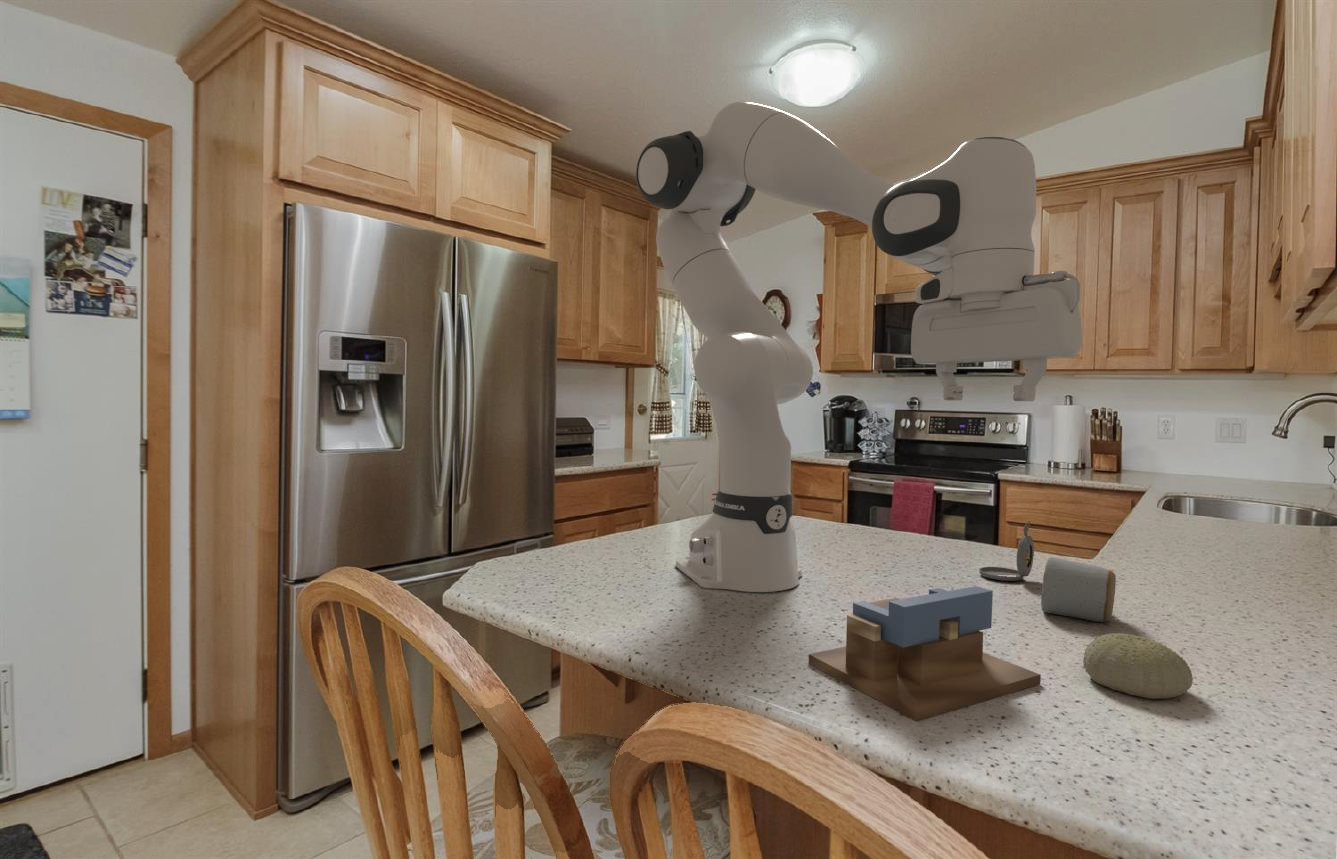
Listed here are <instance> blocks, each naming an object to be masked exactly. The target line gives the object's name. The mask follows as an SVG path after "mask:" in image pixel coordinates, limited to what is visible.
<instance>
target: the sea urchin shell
mask: <svg viewBox="0 0 1337 859" xmlns="http://www.w3.org/2000/svg"><path fill="white" fill-rule="evenodd" d="M1082 659H1083V660H1082V662H1083V664H1082V665H1083V668H1084V669H1085V672H1086V673H1087V674H1088V676H1090V678H1091V679H1092V681H1094V682H1095V683H1097V684H1099V685H1100V686H1101V685H1102V687H1105V686H1106V687H1105V688H1108V689H1112V690H1113V691H1116V690H1117V692H1121V693H1125V694H1128V695H1130V696H1134V697H1135V696H1136V697H1140V698H1143V699H1150V700H1157V699H1164V700H1167V699H1171V698H1176V697H1179V696H1183V694H1185V693H1187V691H1188V690H1189V689H1191V687H1192V685H1193V684H1194V682H1193V681H1194V677H1193V673H1192V670H1191V669H1190V666H1189V665H1188V663H1187V661H1186V660H1185V659H1184V657H1182V656H1180V654H1178V653H1177V652H1176V651H1173V650H1172V648H1169V647H1168V646H1167V645H1164V644H1162V643H1160V642H1158V641H1155V640H1154V639H1150V638H1148V637H1145V636H1140V635H1139V636H1138V635H1135V634H1129V633H1121V632H1120V633H1108V634H1105V635H1104V634H1103V635H1100V636H1098V637H1097V638H1095V639H1094V640H1092V641H1090V642H1089V644H1087V645H1086V648H1085V649H1084V652H1083V658H1082Z"/></svg>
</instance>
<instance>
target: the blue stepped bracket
mask: <svg viewBox="0 0 1337 859" xmlns="http://www.w3.org/2000/svg"><path fill="white" fill-rule="evenodd" d="M993 593H994V592H993V590H991V589H988V588H984V587H981V586H977V585H974V586H970V587H965V588H964V587H963V588H959V589H953V590H951V589H950V590H945V589H942V588H940V587H936V588H931V589H930V588H929V589H928V594H924V595H919V596H912V597H907V598H901V599H900V598H899V599H900V600H895V601H889V610H887V609H884V608H881V607H878V606H876V605H873V604H870V602H869V601H868V602H867V601H865V600H862V601H856V602H855V601H854V602H852V614H854V615H856V616H859V617H861V618H864V619H866V620H868V621H871V622H873V623H876V624H878V625H881V638H882V639H884V640H887V641H889V642H891V643H894V644H896V645H898V646H901V647H903V648H904V647H908V646H913V645H917V644H922V643H926V642H931V641H935V640H939V625H940V620H943V619H949V620H952V621H955V622H958V635H962V634H967V633H971V632H976V631H984V630H989V629H992V626H993V624H992V623H993V622H992V620H993V619H992V618H993V595H994V594H993Z"/></svg>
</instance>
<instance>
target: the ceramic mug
mask: <svg viewBox="0 0 1337 859" xmlns="http://www.w3.org/2000/svg"><path fill="white" fill-rule="evenodd" d="M1042 576H1043V578H1042V585H1041V598H1040V599H1041V600H1040V605H1041V610H1042V612H1044V613H1047V612H1049V613H1048V614H1053V613H1054V614H1053V615H1058V614H1059V616H1063V615H1064V617H1069V616H1070V617H1069V618H1075V619H1082V620H1087V621H1091V622H1099V623H1101V622H1102V623H1103V622H1108V621H1109V620H1111V619H1112V616H1113V610H1114V602H1115V595H1116V585H1117V584H1116V582H1117V580H1116V578H1117V577H1116V573H1114V571H1113V570H1111V569H1108V568H1105V567H1103V566H1099V565H1093V564H1088V563H1082V562H1080V561H1073V560H1068V559H1064V558H1060V557H1054V556H1049V557H1048V559H1047V560H1046V563H1045V566H1044V572H1043V575H1042Z"/></svg>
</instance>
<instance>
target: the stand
mask: <svg viewBox="0 0 1337 859" xmlns="http://www.w3.org/2000/svg"><path fill="white" fill-rule="evenodd" d="M895 600H900V598H896V597H894V598H887V599H884V600H883V599H882V600H878V601H871V602H869V603H870V604H873V605H876V606H878V607H881V608H884V609H887V610H889V601H895ZM845 634H846V635H845V637H846V638H845V640H846V641H845V646H841V647H837V648H832V649H828V650H822V651H818V652H813V653H809V654H808V664H810V665H811V666H813V667H815V668H816V669H819V670H821V671H822V672H823V673H826V674H828V675H830V676H831V677H834V678H836V679H838V680H839V681H841V682H843V683H845V684H847V685H848V686H850V687H852V688H855V689H856V690H857V691H860V692H861V693H863V694H865V695H867V696H870V697H871V698H873V699H875V700H877V701H879V702H880V703H882V704H884V705H885V706H887V707H888V708H889V707H890V708H892V709H893V710H895V711H897V712H899V713H901V714H902V715H904V716H905V717H908V718H910V719H912V720H913V721H916V722H917V721H921V720H925V719H927V718H931V717H933V716H937V715H942V714H945V713H948V712H952V711H955V710H957V709H961V708H965V707H968V706H971V705H974V704H978V703H982V702H985V701H988V700H991V699H995V698H998V697H1001V696H1004V695H1008V694H1011V693H1015V692H1018V691H1021V690H1024V689H1028V688H1032V687H1034V686H1035V687H1036V686H1039V685H1041V681H1042V680H1041V678H1042V674H1040V673H1038V672H1036V671H1033V670H1029V669H1027V668H1025V667H1022V666H1019V665H1017V664H1013V663H1011V662H1009V661H1006V660H1003V659H1001V658H999V657H996V656H994V655H991V654H987V653H986V652H983V650H984V649H983V648H984V647H983V646H984V632H983V631H982V630H980V631H976V632H971V633H967V634H962V635H958V622H955V621H952V620H949V619H943V620H940V625H939V640H935V641H931V642H926V643H922V644H917V645H913V646H908V647H904V648H903V647H901V646H898V645H896V644H894V643H891V642H889V641H887V640H884V639H882V638H881V625H878V624H876V623H873V622H871V621H868V620H866V619H864V618H861V617H859V616H856V615H854V614H853V613H852V614H848V615H846V632H845Z"/></svg>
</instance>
